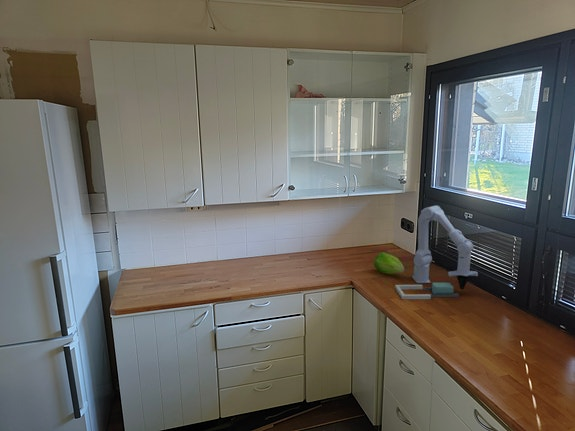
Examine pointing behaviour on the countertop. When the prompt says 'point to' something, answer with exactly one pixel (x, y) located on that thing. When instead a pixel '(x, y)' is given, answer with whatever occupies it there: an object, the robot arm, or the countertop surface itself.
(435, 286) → the teal block
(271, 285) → the countertop surface
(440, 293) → the parallel guide rails
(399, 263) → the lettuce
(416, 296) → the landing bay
